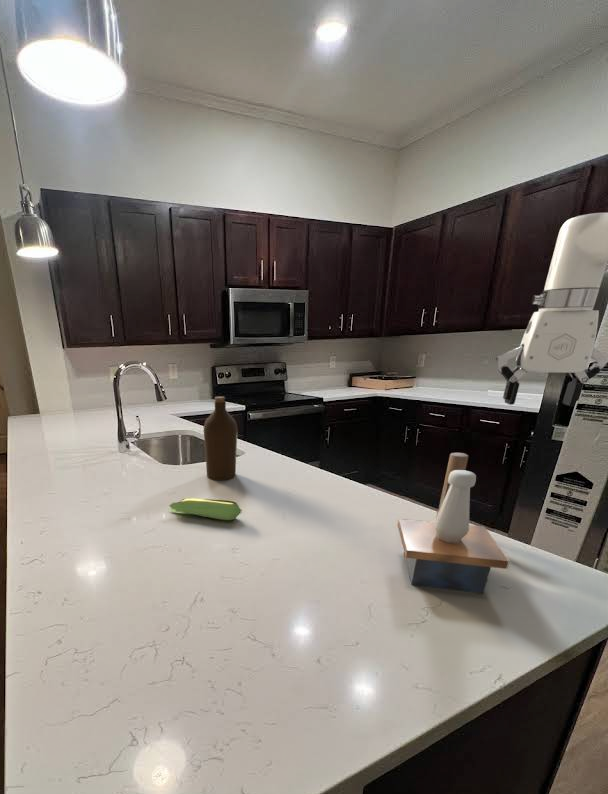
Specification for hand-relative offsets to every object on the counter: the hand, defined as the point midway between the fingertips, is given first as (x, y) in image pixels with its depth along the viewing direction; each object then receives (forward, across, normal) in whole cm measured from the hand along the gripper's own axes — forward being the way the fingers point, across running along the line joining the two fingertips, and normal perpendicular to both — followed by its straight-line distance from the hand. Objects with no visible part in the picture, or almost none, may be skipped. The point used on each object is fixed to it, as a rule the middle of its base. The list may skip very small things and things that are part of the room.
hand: (538, 404), depth 78 cm
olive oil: (+31, -71, +33) cm, 84 cm away
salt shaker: (+23, -14, -14) cm, 30 cm away
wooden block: (+31, -10, +4) cm, 32 cm away
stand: (+30, -14, -14) cm, 36 cm away
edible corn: (+31, -67, +1) cm, 74 cm away
